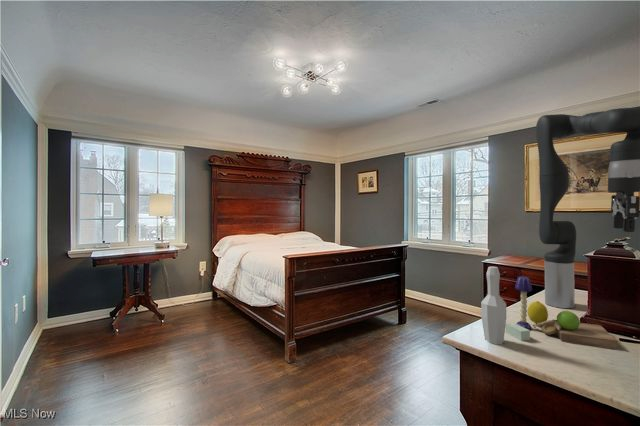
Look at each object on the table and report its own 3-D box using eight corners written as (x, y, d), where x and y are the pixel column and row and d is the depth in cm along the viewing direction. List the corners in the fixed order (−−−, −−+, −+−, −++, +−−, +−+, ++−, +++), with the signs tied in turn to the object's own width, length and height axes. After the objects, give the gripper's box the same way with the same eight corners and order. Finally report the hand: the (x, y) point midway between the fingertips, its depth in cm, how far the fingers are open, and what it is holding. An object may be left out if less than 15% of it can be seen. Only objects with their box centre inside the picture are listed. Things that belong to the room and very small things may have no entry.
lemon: (539, 329, 97) (539, 304, 97) (523, 323, 102) (523, 299, 102) (552, 327, 99) (552, 302, 98) (536, 321, 104) (535, 297, 104)
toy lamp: (536, 329, 97) (535, 277, 97) (525, 331, 95) (524, 279, 95) (522, 324, 101) (521, 274, 101) (511, 326, 100) (511, 276, 100)
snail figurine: (566, 303, 94) (528, 319, 98) (575, 313, 88) (534, 330, 92) (577, 317, 93) (538, 333, 98) (587, 329, 87) (545, 345, 92)
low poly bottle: (490, 334, 94) (488, 264, 94) (511, 342, 89) (510, 267, 88) (477, 339, 91) (476, 266, 91) (498, 347, 86) (497, 270, 85)
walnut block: (552, 328, 99) (552, 319, 99) (600, 334, 94) (600, 325, 93) (561, 343, 88) (561, 333, 88) (616, 351, 83) (616, 340, 83)
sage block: (505, 333, 95) (505, 323, 95) (514, 332, 96) (514, 322, 96) (521, 341, 89) (521, 331, 89) (530, 340, 90) (529, 330, 90)
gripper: (601, 177, 98) (599, 227, 99) (616, 176, 86) (614, 232, 87) (633, 176, 94) (631, 227, 96) (654, 174, 82) (651, 233, 83)
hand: (623, 230), depth 91 cm, fingers open, 8 cm apart
